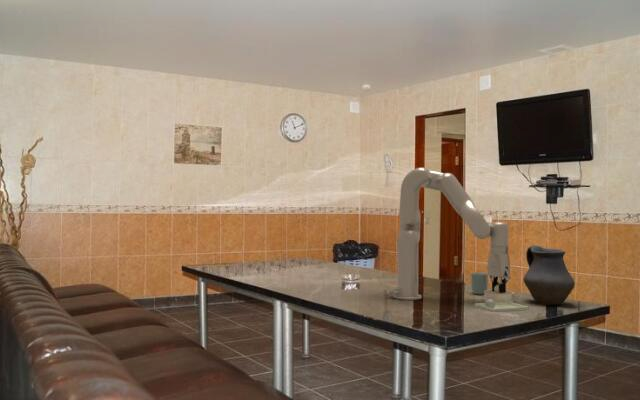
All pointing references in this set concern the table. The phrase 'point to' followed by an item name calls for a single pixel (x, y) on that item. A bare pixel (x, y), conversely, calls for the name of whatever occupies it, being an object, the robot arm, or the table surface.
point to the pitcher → (547, 276)
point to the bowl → (499, 296)
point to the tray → (503, 307)
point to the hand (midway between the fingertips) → (498, 291)
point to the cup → (479, 282)
